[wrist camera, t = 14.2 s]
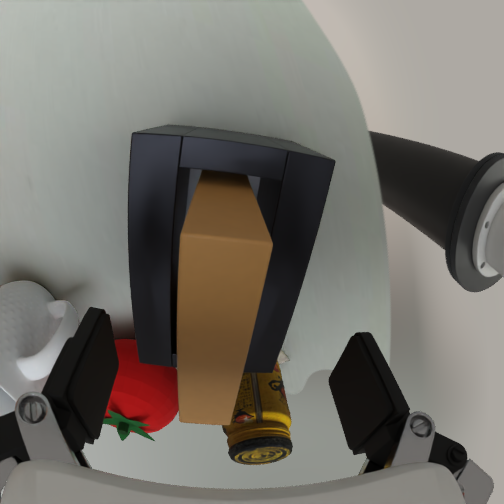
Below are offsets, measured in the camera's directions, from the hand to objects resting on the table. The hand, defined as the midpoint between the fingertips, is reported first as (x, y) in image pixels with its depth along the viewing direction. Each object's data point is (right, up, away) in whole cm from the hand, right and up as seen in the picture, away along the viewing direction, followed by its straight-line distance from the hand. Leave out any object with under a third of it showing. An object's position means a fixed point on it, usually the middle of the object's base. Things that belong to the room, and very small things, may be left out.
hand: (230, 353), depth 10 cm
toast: (-2, +5, +9) cm, 11 cm away
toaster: (-2, +6, +12) cm, 13 cm away
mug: (-21, -2, +14) cm, 25 cm away
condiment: (0, -7, +19) cm, 20 cm away
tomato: (-11, -7, +18) cm, 22 cm away
